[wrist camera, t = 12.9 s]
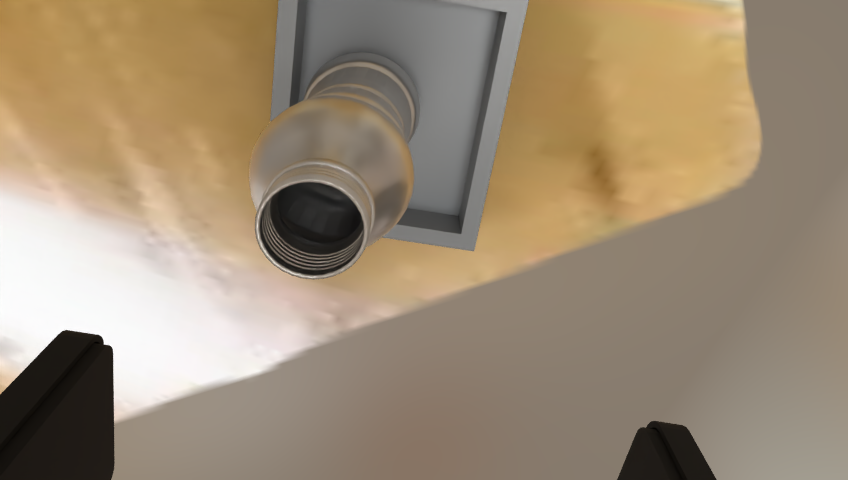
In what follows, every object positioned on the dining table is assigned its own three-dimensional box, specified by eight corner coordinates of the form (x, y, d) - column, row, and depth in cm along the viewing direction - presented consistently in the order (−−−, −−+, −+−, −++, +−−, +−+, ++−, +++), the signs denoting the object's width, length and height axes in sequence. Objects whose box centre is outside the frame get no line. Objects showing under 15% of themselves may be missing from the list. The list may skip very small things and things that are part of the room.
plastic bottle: (435, 131, 39) (446, 281, 21) (335, 168, 40) (262, 341, 22) (397, 29, 37) (371, 98, 19) (291, 70, 38) (168, 175, 20)
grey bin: (296, -48, 36) (281, -49, 33) (519, -8, 37) (529, -5, 33) (277, 196, 42) (263, 219, 39) (469, 226, 43) (474, 251, 39)
